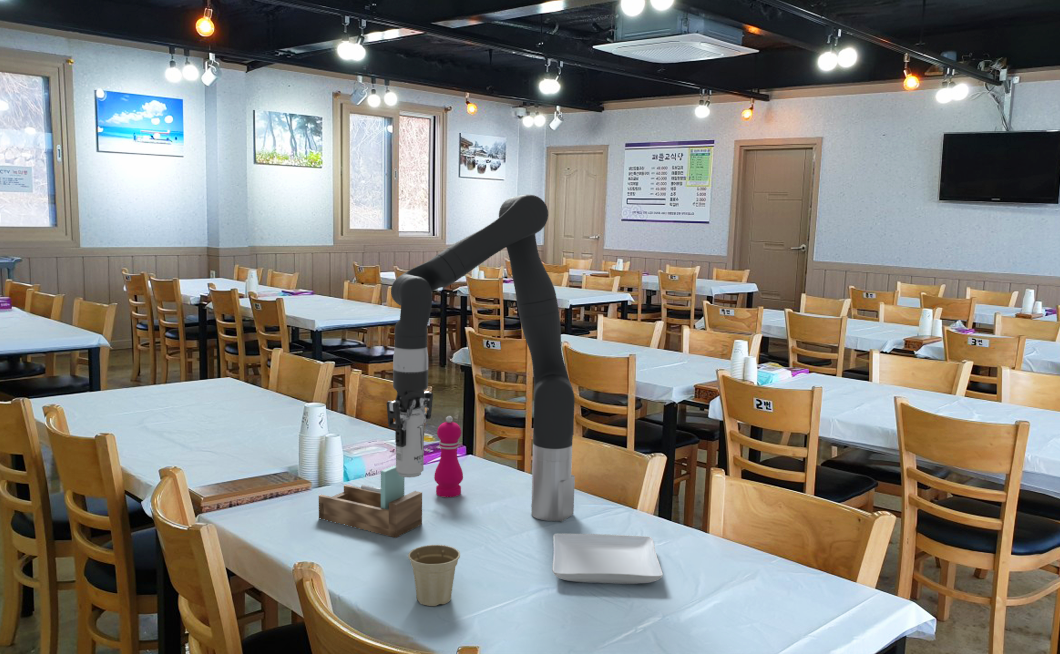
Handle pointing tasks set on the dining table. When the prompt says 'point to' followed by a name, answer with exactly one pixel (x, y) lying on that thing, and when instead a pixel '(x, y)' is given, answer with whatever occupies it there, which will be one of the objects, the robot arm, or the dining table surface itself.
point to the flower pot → (434, 573)
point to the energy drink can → (412, 446)
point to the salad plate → (605, 558)
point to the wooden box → (372, 511)
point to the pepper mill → (448, 460)
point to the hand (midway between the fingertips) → (410, 442)
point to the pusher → (388, 486)
